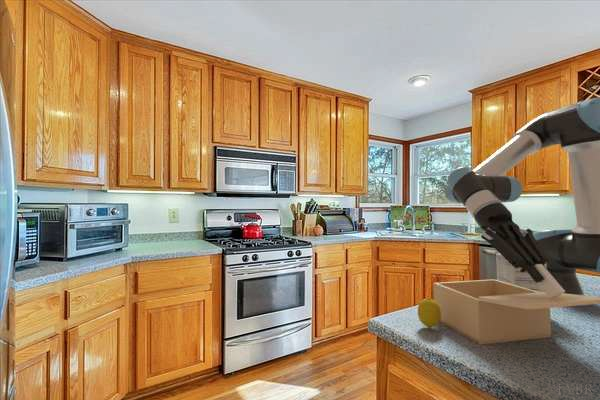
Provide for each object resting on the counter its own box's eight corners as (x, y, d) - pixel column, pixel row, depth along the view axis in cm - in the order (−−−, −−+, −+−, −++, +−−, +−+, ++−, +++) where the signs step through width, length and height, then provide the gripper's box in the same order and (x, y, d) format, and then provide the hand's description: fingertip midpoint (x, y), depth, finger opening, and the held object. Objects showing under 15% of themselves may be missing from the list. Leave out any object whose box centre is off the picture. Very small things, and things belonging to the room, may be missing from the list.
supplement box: (550, 317, 82) (548, 257, 83) (514, 316, 83) (513, 257, 84) (528, 306, 92) (526, 252, 92) (496, 305, 93) (495, 252, 93)
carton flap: (549, 291, 70) (610, 298, 58) (550, 296, 70) (611, 303, 58) (478, 296, 66) (527, 305, 55) (478, 301, 66) (528, 310, 54)
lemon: (431, 334, 71) (430, 301, 72) (413, 326, 76) (412, 296, 76) (446, 330, 74) (445, 298, 74) (427, 322, 79) (427, 293, 79)
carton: (494, 313, 85) (493, 279, 86) (551, 336, 70) (549, 295, 70) (434, 318, 82) (433, 282, 82) (479, 344, 66) (478, 300, 66)
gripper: (501, 221, 79) (569, 302, 62) (459, 221, 77) (518, 306, 60) (518, 201, 74) (598, 283, 57) (474, 201, 72) (543, 286, 55)
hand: (557, 295), depth 59 cm, fingers closed
